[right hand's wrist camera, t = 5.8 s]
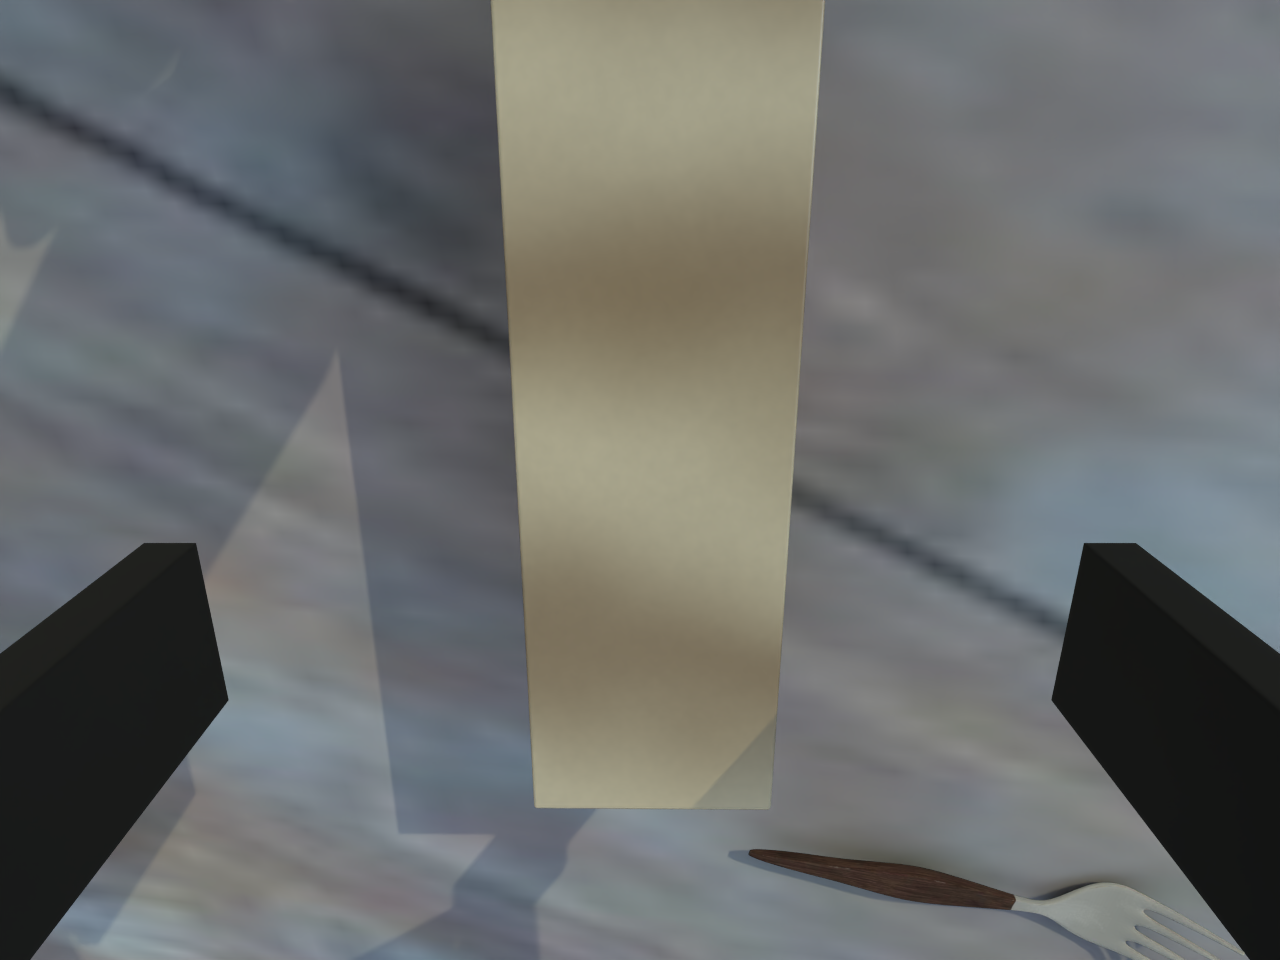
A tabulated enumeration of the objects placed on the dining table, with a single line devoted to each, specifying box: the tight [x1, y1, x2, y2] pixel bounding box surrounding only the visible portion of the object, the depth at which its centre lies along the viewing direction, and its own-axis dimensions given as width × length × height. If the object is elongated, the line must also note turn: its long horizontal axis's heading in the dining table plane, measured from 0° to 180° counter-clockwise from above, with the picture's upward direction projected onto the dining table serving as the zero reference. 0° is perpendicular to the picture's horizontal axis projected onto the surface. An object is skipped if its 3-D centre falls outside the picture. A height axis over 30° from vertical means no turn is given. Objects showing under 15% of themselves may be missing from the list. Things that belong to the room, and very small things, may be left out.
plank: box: [491, 0, 825, 810], centre depth 16 cm, size 30×5×8 cm, turn 0°
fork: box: [749, 849, 1245, 960], centre depth 27 cm, size 3×16×2 cm, turn 77°
